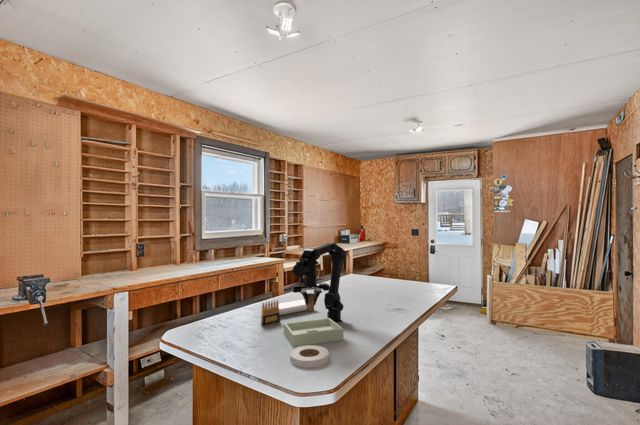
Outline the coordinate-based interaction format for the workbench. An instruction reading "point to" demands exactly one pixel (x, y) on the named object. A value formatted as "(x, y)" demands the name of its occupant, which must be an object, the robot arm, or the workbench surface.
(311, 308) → the peg
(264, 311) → the ammunition clip
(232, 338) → the workbench surface
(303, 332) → the box
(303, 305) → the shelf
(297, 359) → the roll of tape
